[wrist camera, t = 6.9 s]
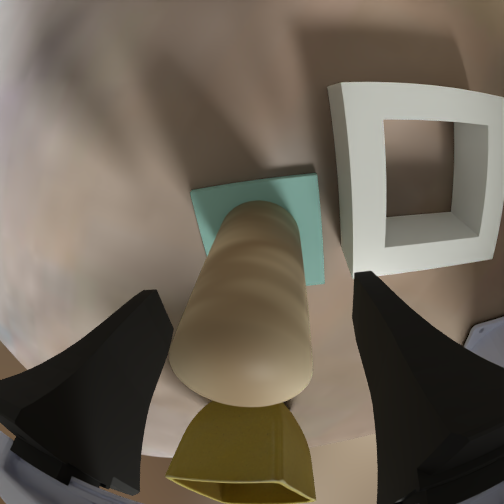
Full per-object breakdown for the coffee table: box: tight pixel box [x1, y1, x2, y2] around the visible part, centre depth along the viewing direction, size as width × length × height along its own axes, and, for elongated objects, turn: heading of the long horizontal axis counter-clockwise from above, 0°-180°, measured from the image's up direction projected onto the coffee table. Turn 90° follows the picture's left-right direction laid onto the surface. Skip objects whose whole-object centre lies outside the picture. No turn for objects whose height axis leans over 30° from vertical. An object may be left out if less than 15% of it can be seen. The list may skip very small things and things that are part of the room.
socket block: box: [327, 82, 504, 279], centre depth 11 cm, size 8×8×3 cm
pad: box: [190, 173, 325, 286], centre depth 15 cm, size 6×6×1 cm
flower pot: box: [165, 401, 316, 504], centre depth 19 cm, size 9×9×9 cm
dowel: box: [169, 200, 313, 407], centre depth 11 cm, size 4×4×8 cm
